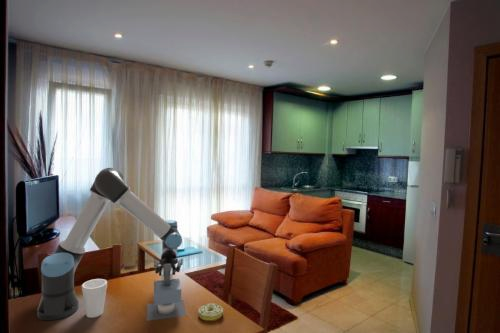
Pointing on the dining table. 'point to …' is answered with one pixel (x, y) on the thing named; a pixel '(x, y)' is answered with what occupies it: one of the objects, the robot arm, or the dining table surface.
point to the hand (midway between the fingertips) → (166, 276)
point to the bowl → (166, 308)
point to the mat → (155, 315)
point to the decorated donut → (210, 312)
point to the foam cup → (94, 296)
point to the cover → (167, 288)
